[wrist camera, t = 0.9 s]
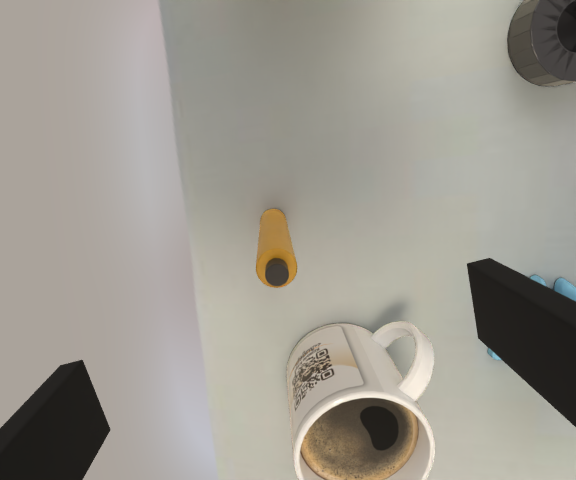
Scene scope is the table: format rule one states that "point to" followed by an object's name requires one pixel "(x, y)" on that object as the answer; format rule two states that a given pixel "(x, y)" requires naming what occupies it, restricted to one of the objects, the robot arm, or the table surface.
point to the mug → (359, 405)
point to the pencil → (275, 250)
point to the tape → (544, 41)
